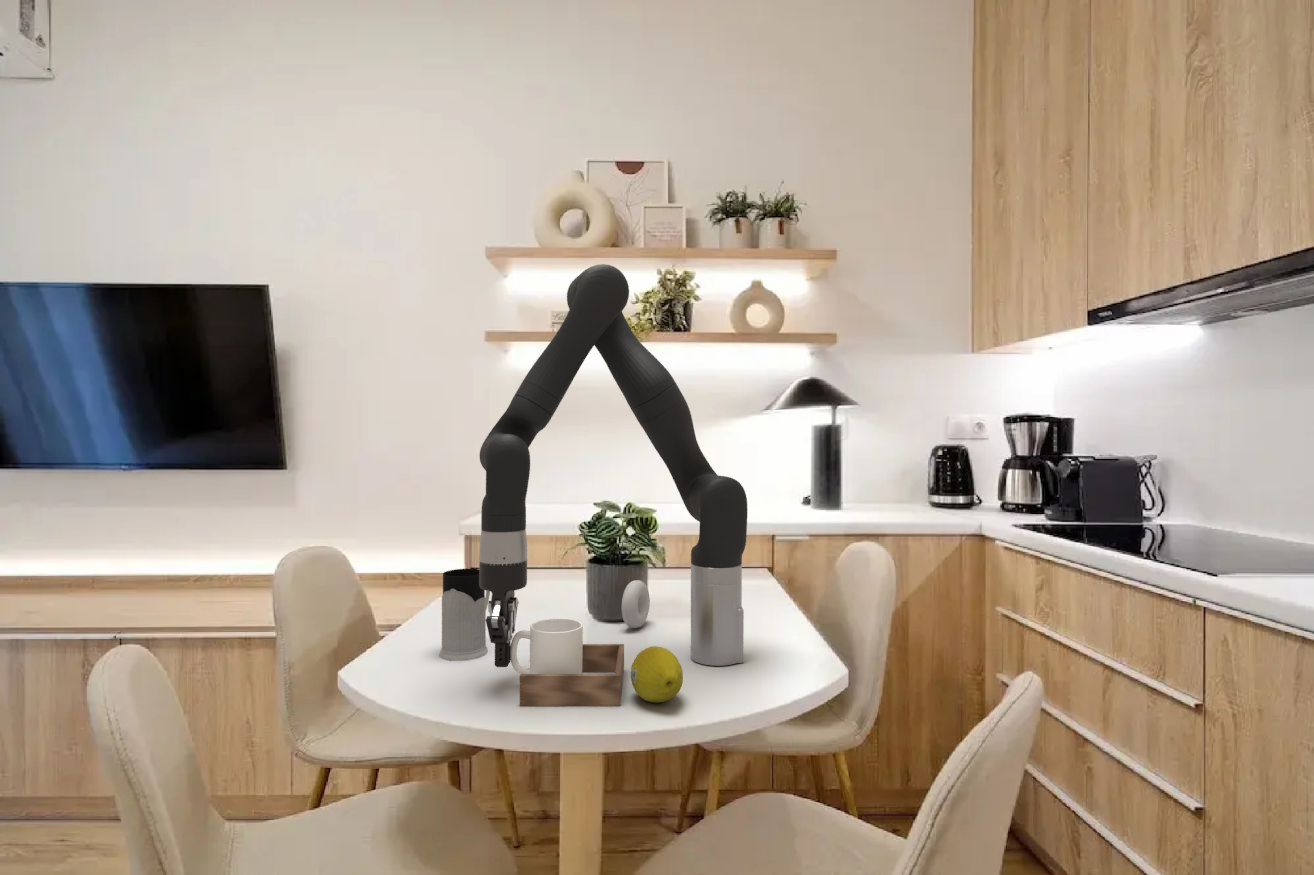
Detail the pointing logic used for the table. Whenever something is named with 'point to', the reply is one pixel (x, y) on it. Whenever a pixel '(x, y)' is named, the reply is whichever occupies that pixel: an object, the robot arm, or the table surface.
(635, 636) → the table surface
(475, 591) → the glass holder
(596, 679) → the wooden box
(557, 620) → the cup
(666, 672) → the lemon
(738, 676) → the table surface
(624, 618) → the donut
